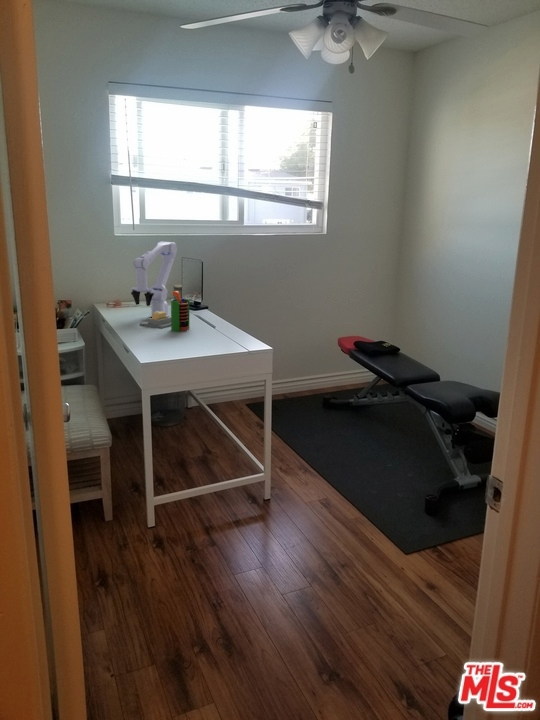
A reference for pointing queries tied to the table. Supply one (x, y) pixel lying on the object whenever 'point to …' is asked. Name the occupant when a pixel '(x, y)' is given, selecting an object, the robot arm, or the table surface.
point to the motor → (179, 313)
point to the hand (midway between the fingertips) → (142, 305)
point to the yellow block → (159, 315)
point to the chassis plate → (158, 323)
